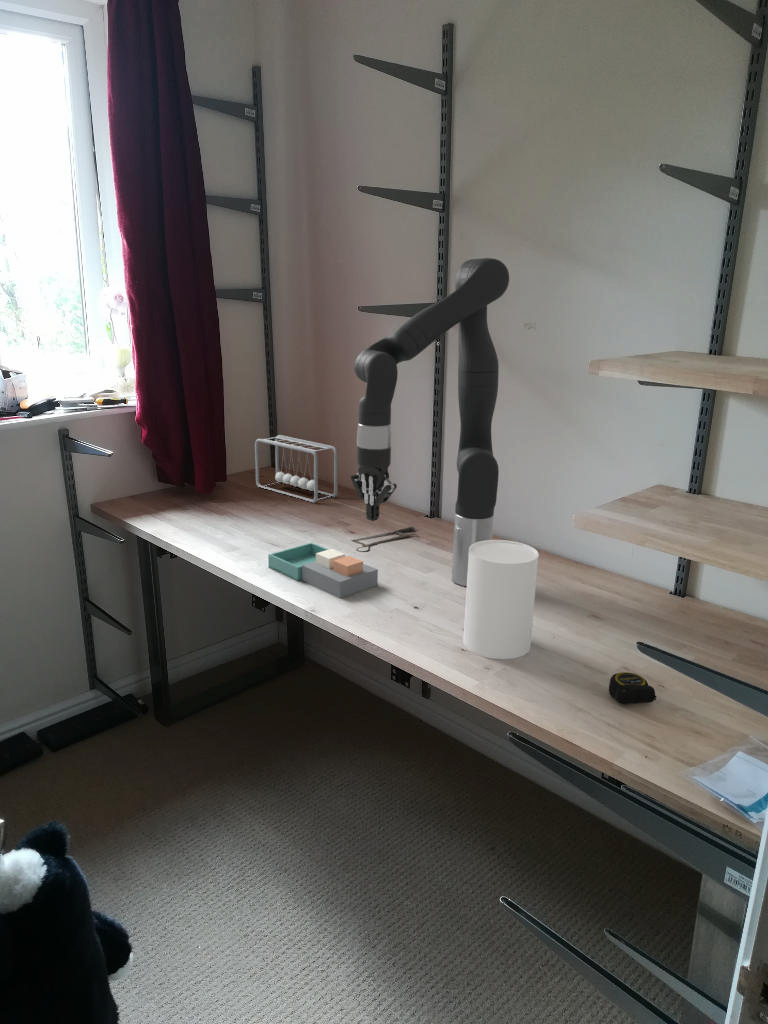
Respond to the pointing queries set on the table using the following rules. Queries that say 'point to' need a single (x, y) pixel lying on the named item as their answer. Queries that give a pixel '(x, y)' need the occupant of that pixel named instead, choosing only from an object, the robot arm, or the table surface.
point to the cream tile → (328, 557)
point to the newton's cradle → (296, 480)
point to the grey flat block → (339, 579)
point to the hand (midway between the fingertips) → (372, 519)
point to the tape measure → (630, 689)
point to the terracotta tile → (348, 566)
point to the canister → (500, 598)
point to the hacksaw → (400, 532)
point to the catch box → (294, 559)
